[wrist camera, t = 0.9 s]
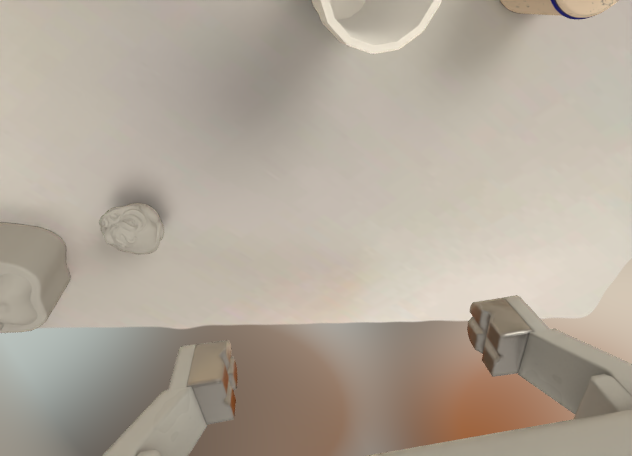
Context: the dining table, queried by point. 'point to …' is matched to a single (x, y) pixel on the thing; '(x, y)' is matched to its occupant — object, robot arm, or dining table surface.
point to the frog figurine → (132, 228)
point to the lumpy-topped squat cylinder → (29, 276)
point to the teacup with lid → (560, 7)
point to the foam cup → (376, 21)
